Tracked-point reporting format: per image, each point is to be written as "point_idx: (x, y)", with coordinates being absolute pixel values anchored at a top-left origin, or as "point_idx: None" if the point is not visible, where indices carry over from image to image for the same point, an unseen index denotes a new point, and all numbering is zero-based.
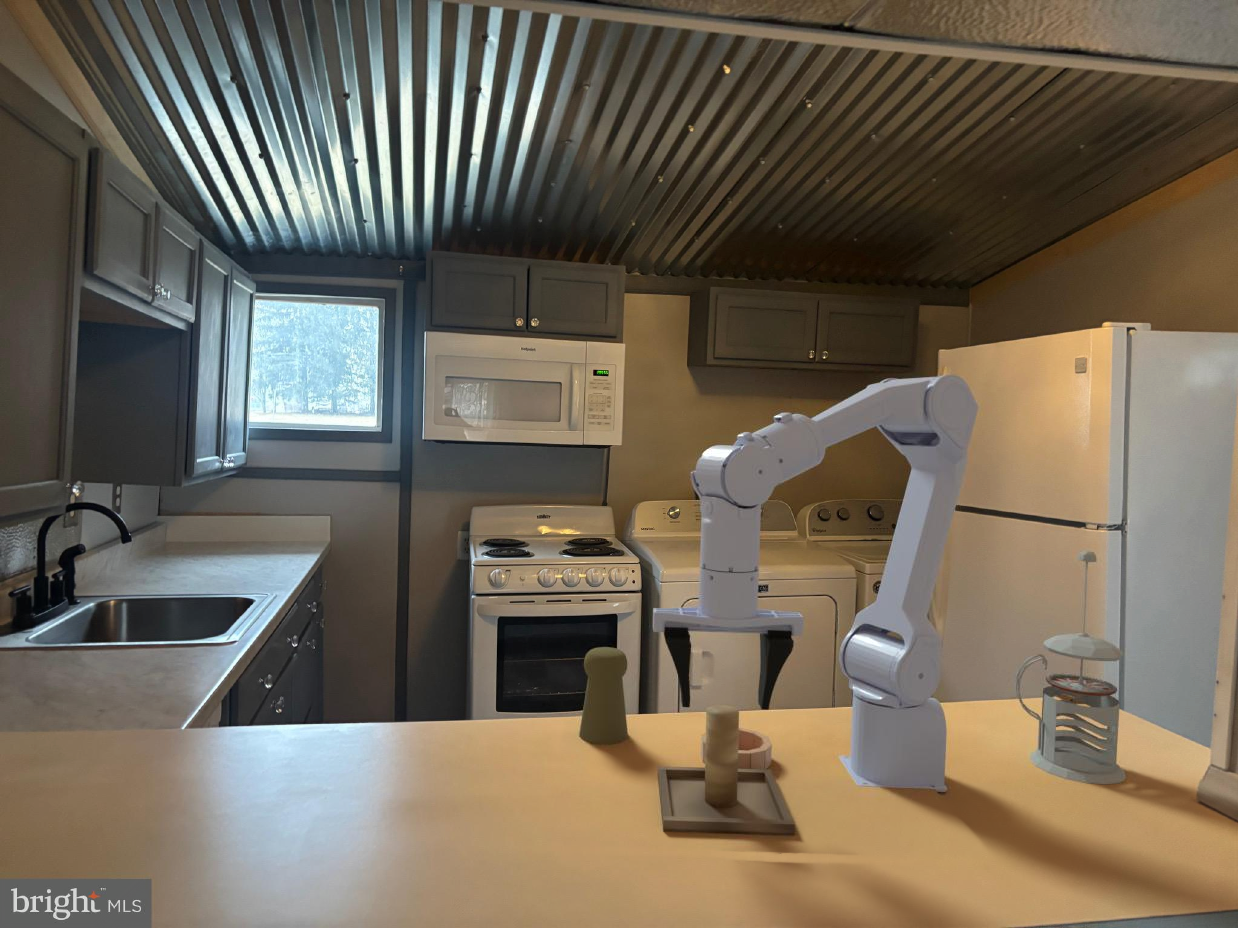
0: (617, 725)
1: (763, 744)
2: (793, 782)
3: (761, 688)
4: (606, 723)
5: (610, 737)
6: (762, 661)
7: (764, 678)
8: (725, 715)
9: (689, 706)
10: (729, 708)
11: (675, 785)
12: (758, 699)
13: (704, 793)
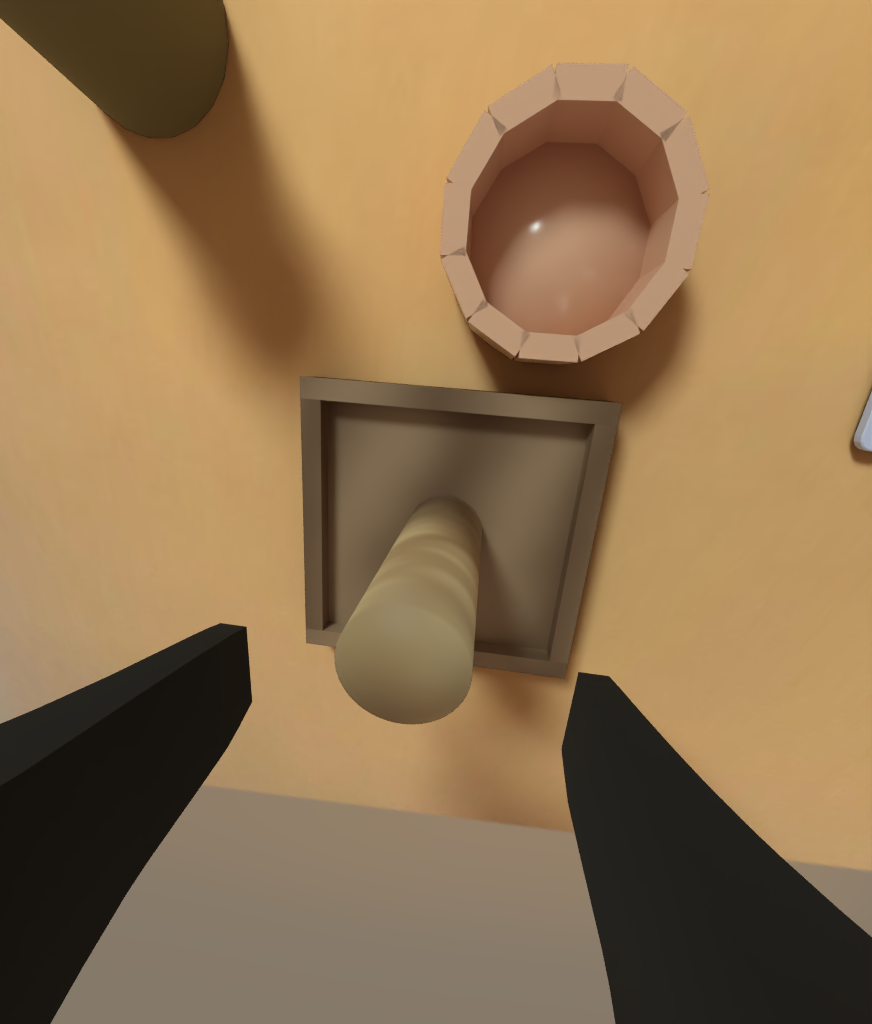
0: (140, 58)
1: (656, 275)
2: (683, 387)
3: (593, 793)
4: (92, 69)
5: (149, 105)
6: (676, 967)
7: (610, 919)
8: (403, 716)
9: (249, 705)
10: (437, 649)
11: (349, 449)
12: (582, 682)
13: (413, 495)
